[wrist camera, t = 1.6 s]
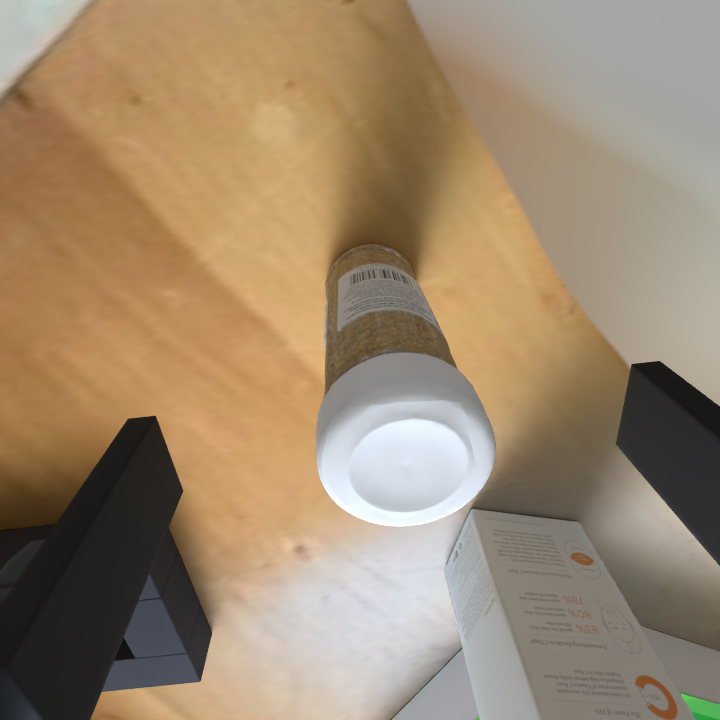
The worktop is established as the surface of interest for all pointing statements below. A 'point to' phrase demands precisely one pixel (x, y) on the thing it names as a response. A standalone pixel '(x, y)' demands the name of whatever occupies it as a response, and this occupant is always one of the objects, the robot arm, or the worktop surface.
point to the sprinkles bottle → (394, 399)
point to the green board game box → (680, 657)
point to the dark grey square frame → (148, 621)
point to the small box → (550, 626)
